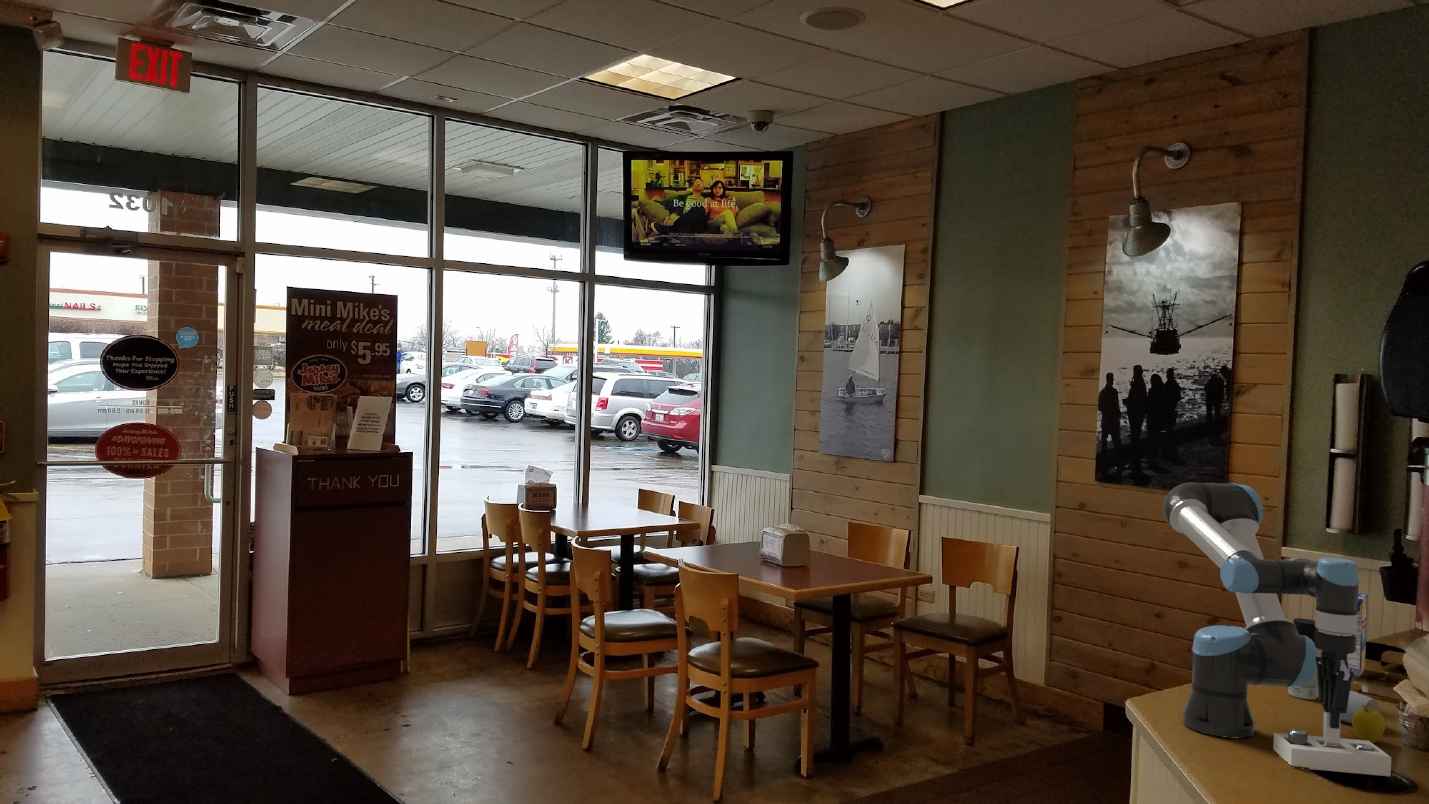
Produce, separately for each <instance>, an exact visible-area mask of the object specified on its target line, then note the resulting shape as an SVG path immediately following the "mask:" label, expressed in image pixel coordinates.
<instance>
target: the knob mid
mask: <svg viewBox="0 0 1429 804" xmlns="http://www.w3.org/2000/svg"><path fill="white" fill-rule="evenodd" d="M1321 745H1322V746H1323V747H1328V748H1340V749H1341V745H1340V744H1338V743H1328V742H1325V741H1322V742H1321Z"/></svg>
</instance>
